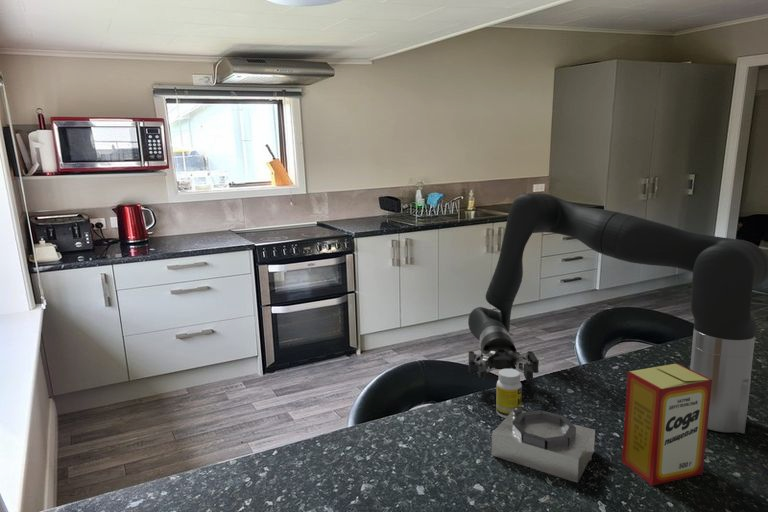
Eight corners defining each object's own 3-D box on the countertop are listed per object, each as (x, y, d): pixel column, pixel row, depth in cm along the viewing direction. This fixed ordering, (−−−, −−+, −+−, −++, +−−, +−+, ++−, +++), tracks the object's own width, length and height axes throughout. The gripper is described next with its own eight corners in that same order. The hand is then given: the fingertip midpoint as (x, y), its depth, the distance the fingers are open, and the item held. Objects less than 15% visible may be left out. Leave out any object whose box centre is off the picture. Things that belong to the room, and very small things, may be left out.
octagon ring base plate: (593, 451, 88) (595, 423, 87) (577, 483, 80) (578, 452, 79) (513, 428, 96) (514, 402, 95) (491, 455, 88) (491, 426, 87)
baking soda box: (652, 485, 79) (659, 386, 76) (621, 461, 85) (627, 369, 82) (702, 473, 82) (712, 377, 78) (669, 451, 88) (677, 361, 85)
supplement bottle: (521, 420, 99) (522, 378, 98) (496, 418, 100) (496, 377, 98) (520, 408, 104) (521, 368, 102) (496, 406, 105) (496, 366, 103)
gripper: (465, 331, 120) (470, 358, 104) (529, 330, 119) (544, 358, 103) (465, 361, 121) (470, 393, 106) (528, 362, 120) (543, 394, 104)
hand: (506, 376), depth 104 cm, fingers open, 8 cm apart
